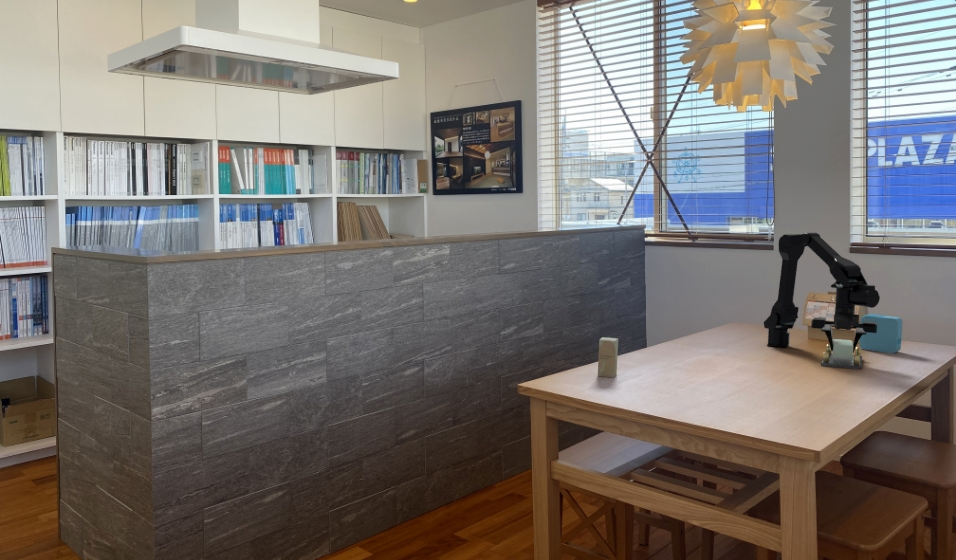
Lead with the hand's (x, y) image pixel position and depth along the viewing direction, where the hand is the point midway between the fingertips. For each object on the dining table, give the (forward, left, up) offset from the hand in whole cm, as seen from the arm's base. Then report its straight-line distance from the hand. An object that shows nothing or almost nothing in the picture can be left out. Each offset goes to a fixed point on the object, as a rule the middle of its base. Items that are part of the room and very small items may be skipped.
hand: (842, 351), depth 246 cm
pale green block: (0, 0, -1) cm, 1 cm away
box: (-60, -53, -4) cm, 80 cm away
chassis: (0, 0, -4) cm, 4 cm away
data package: (+11, +26, -4) cm, 29 cm away
